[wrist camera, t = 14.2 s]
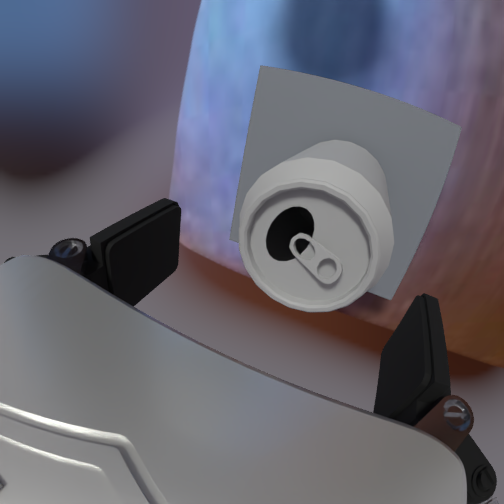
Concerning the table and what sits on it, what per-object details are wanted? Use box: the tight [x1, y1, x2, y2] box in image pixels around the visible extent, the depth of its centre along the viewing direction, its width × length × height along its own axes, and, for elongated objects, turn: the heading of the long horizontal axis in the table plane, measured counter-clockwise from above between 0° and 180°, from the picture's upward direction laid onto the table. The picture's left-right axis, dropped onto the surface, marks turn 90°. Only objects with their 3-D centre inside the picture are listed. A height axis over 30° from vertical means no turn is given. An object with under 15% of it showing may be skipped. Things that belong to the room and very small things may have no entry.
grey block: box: [229, 65, 462, 300], centre depth 24 cm, size 16×16×5 cm
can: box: [239, 140, 394, 312], centre depth 17 cm, size 8×8×12 cm
